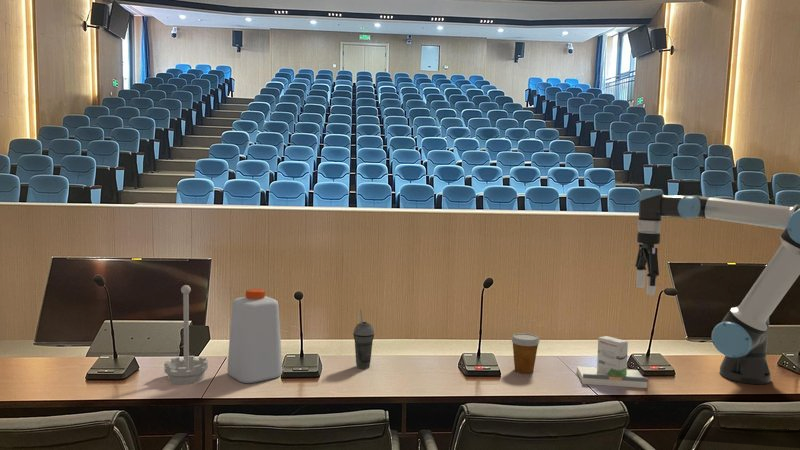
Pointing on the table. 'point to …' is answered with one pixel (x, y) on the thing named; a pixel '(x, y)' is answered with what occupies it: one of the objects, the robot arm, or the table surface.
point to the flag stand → (186, 355)
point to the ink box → (612, 356)
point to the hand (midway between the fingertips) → (645, 291)
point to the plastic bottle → (254, 338)
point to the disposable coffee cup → (524, 351)
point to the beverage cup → (363, 343)
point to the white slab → (611, 378)
